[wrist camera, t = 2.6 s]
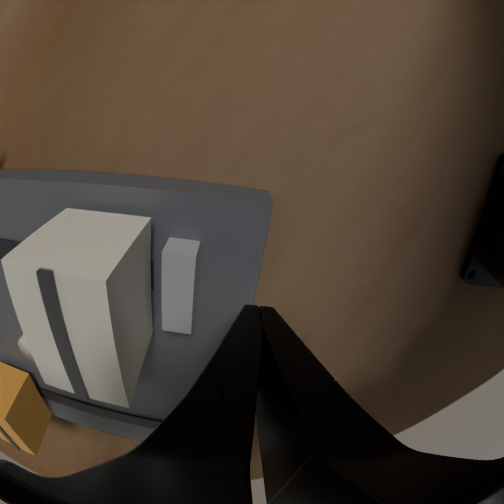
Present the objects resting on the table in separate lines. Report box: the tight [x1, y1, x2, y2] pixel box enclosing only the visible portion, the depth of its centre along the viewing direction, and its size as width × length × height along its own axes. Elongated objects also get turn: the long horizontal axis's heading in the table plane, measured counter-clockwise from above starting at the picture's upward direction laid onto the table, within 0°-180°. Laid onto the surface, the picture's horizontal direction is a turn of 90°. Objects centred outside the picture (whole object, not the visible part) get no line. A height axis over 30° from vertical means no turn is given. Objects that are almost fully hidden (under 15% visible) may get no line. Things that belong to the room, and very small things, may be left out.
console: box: [0, 169, 273, 441], centre depth 12 cm, size 20×16×2 cm
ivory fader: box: [1, 208, 153, 408], centre depth 8 cm, size 3×4×4 cm, turn 171°
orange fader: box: [0, 362, 52, 456], centre depth 11 cm, size 3×4×4 cm, turn 171°
